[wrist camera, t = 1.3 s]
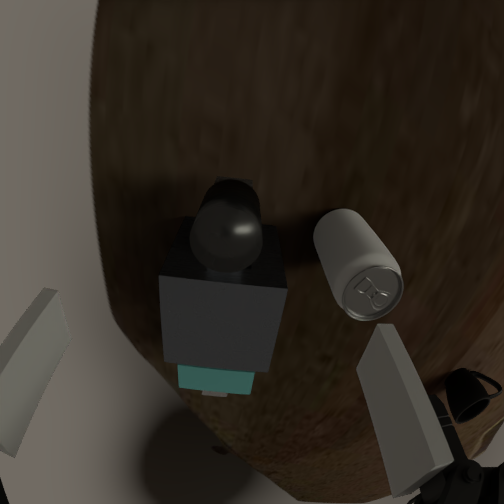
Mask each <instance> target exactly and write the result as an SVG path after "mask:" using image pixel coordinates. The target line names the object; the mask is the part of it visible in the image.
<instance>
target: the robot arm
mask: <svg viewBox="0 0 504 504" xmlns="http://www.w3.org/2000/svg"><path fill="white" fill-rule="evenodd" d="M70 341H71V335H70V332H69V328H68V325H67V321H66V318H65V314H64V311H63V307H62V303H61V299H60V296H59V292H58V290H53V289H48V288H44V289H43V290H42V291H41V292H40V294H39V295H38V296H37V297H36V299H35V300H34V301H33V302H32V304H31V305H30V306H29V307H28V309H27V310H26V311H25V313H24V314H23V315H22V317H21V318H20V319H19V321H18V322H17V323H16V325H15V326H14V327H13V329H12V330H11V331H10V333H9V334H8V336H7V337H6V339H5V340H4V341H3V343H2V344H1V346H0V451H2V452H4V453H6V454H7V455H9V456H11V457H14V458H15V456H16V454H17V451H18V449H19V446H20V444H21V442H22V439H23V437H24V434H25V432H26V430H27V428H28V425H29V423H30V420H31V418H32V416H33V414H34V412H35V410H36V408H37V406H38V403H39V401H40V399H41V397H42V395H43V393H44V391H45V389H46V387H47V385H48V383H49V381H50V379H51V377H52V375H53V373H54V371H55V369H56V367H57V365H58V363H59V362H60V360H61V358H62V356H63V354H64V352H65V350H66V349H67V347H68V345H69V343H70ZM356 370H357V373H358V376H359V379H360V382H361V385H362V389H363V392H364V395H365V398H366V402H367V405H368V408H369V412H370V415H371V418H372V422H373V425H374V429H375V432H376V436H377V439H378V443H379V446H380V450H381V454H382V457H383V461H384V465H385V469H386V472H387V476H388V480H389V484H390V488H391V492H392V496H393V498H396V497H400V496H404V495H408V494H411V493H412V492H414V491H415V490H417V489H418V488H420V492H421V493H420V494H419V495H417V496H416V497H414V498H413V499H411V500H410V501H409V502H408V503H407V504H412V503H414V502H415V503H414V504H504V462H503V463H502V464H501V465H499V466H498V467H481V466H480V465H479V463H477V462H476V461H474V460H468V458H467V456H466V455H465V452H464V450H463V447H462V445H461V442H460V440H459V438H458V435H457V433H456V430H455V428H454V426H452V421H451V419H450V417H448V415H449V414H448V412H447V410H446V408H445V406H444V404H443V403H442V401H441V400H440V399H439V398H438V397H437V396H436V395H427V393H426V391H425V389H424V387H423V384H422V382H421V380H420V378H419V376H418V374H417V372H416V369H415V367H414V365H413V363H412V361H411V359H410V357H409V355H408V353H407V351H406V349H405V347H404V345H403V343H402V341H401V339H400V337H399V335H398V333H397V331H396V329H395V327H394V325H393V324H377V326H376V328H375V330H374V332H373V335H372V337H371V339H370V341H369V343H368V345H367V348H366V350H365V352H364V354H363V356H362V358H361V360H360V362H359V364H358V366H357V368H356ZM0 504H9V502H8V499H7V496H6V494H5V491H4V488H3V485H2V482H1V479H0Z"/></svg>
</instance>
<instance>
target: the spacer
mask: <svg viewBox="0 0 504 504" xmlns="http://www.w3.org/2000/svg"><path fill="white" fill-rule="evenodd" d="M254 373H255V371H242V370H230V369H220V368H210V367H201V366H193V365H185V364H178V378H179V387H181V388H188V389H196V390H205V391H214V392H225V393H236V394H250V392H251V387H252V383H253V378H254Z"/></svg>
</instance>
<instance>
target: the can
mask: <svg viewBox="0 0 504 504" xmlns="http://www.w3.org/2000/svg"><path fill="white" fill-rule="evenodd" d="M313 240H314V245H315V248H316V251H317V253H318V256H319V259H320V261H321V264H322V266H323V269H324V272H325V274H326V277H327V280H328V282H329V285H330V288H331V290H332V293H333V295H334V298H335V300H336V301H337V303H338V304H339V306H340V307H341V308H343V309H344V310H345V312H346V313H347V314H348V315H349V316H350V317H352V318H354V319H356V320H361V321H369V320H374V319H377V318H380V317H382V316H384V315H386V314H387V313H389V312H390V311H391V310H392V309H393V308H394V307H395V306H396V305H397V304H398V302H399V300H400V299H401V296H402V293H403V288H404V285H403V280H402V277H401V271H400V268H399V266H398V264H397V262H396V260H395V259H394V257H393V256H392V255H391V253H390V252H389V251H388V249H387V248H386V247H385V245H384V244H383V243H382V241H381V240H380V239H379V238H378V236H377V235H376V234H375V233H374V231H373V230H372V229H371V228H370V226H369V225H368V224H367V223H366V221H365V220H364V219H363V218H362V217H361V216H360V215H359V214H358V213H356V212H355V211H352V210H349V209H337V210H334V211H331V212H329V213H327V214H326V215H324V216H323V217H322V218H321V219H320V220H319V222H318V223H317V225H316V227H315V230H314V234H313Z"/></svg>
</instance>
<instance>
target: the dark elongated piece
mask: <svg viewBox="0 0 504 504" xmlns="http://www.w3.org/2000/svg"><path fill="white" fill-rule="evenodd" d="M262 245H263V237H262V225H261V214H260V203H259V199H258V196H257V194H256V192H255V191H254V190H253V181H252V180H249V179H240V178H230V177H221V176H217V178H216V180H215V183H214V185H213V186H211V187H210V188H209V190H208V191H207V192H206V194H205V196H204V199H203V201H202V204H201V206H200V209H199V211H198V213H197V216H196V219H195V221H194V224H193V226H192V229H191V232H190V246H191V249H192V252H193V254H194V255H195V257H196V258H197V259H198V260H199V262H201V263H202V264H203V265H204V266H206V267H207V268H209V269H212V270H214V271H217V272H223V273H231V272H237V271H240V270H243V269H245V268H247V267H248V266H250V265H251V264H252V263H253V262H254V261H255V260H256V259H257V258H258V256H259V254H260V252H261V249H262ZM202 395H211V396H221V397H227V393H225V392H214V391H205V390H202Z"/></svg>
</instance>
